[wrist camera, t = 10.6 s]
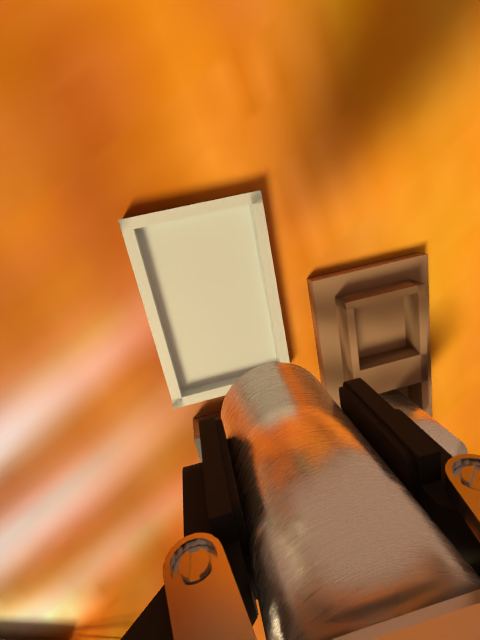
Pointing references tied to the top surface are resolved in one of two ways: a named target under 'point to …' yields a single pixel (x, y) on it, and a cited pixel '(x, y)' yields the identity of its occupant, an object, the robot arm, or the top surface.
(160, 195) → the top surface
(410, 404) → the cylinder
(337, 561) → the cylinder
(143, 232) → the tray
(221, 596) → the robot arm
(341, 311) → the brown compartment tray
